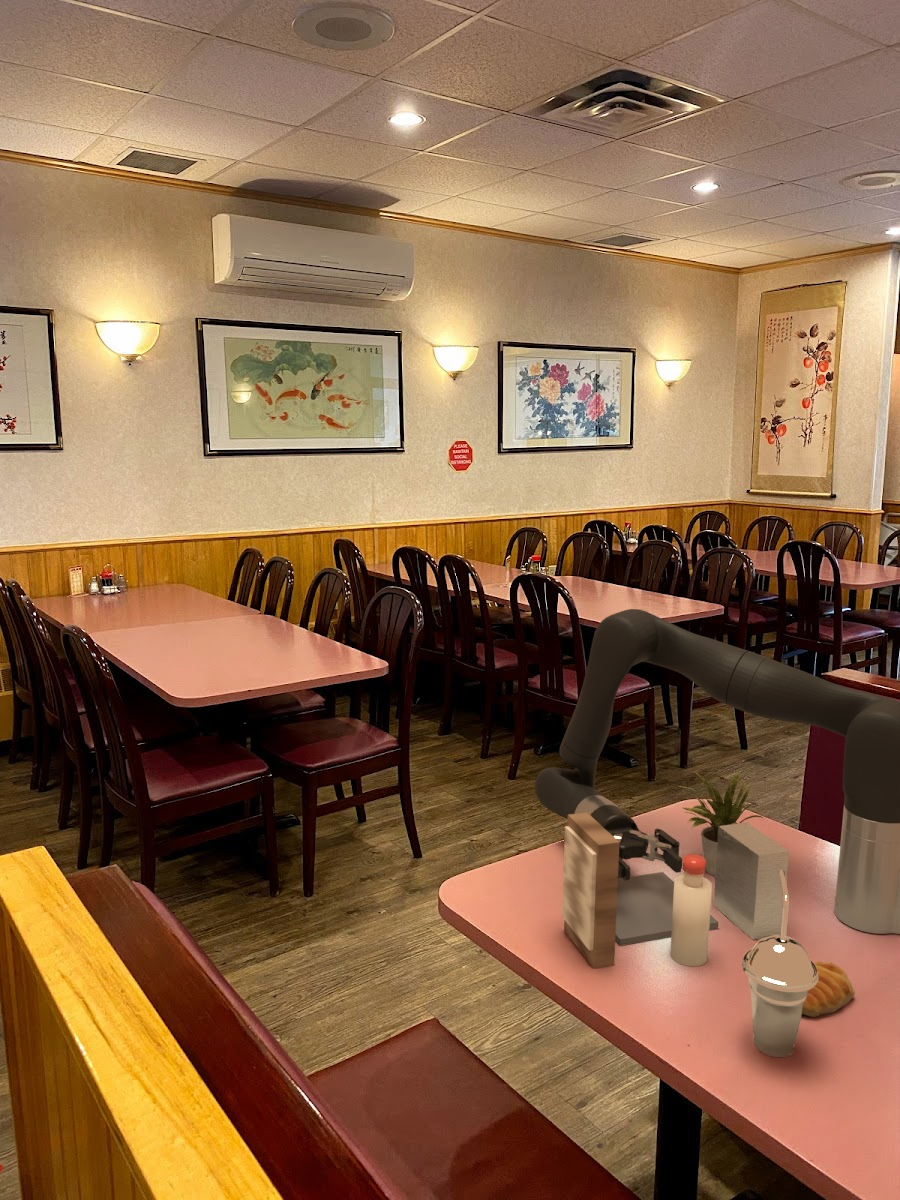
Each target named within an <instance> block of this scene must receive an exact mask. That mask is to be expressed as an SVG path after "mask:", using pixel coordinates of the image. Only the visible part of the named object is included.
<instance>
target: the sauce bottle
mask: <svg viewBox="0 0 900 1200" xmlns="http://www.w3.org/2000/svg"><path fill="white" fill-rule="evenodd" d="M705 867H706V859H705V858H704V857H703V856H702V855H699V854H693V853H690V854H686V855H683V857H682V870H683V874H680V875H677V876H676V877H675V878H674V880H673V881H674V896H673V914H672V932H671V937H670V951H669V953H670V955H669V956H670V957H671V958H672V960H673V961H674V962H675V963H677V964H680V965H683V966H686V967H694V968H695V967H700V966H703V965H705V964H706V963H707V962H708V955H709V942H710V941H709V940H710V939H709V938H710V930H709V925H710V915H711V907H712V892H713V891H712V890H713V883H712V882H711V881H710V879H707V878H706V877H704V874H705V872H706V870H705Z"/></svg>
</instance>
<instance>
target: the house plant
mask: <svg viewBox="0 0 900 1200" xmlns="http://www.w3.org/2000/svg"><path fill="white" fill-rule="evenodd" d="M693 773H694V774H696V775H697V776H698V777H699V778H700V779H701V780H702V781H703V783H704V784H705V785H704V786H705V787H706V789H707V792H708V794H709V797H710V798H711V800H710V799H708V798H707V797H706V796H705V795H704V794H703V793H702V792H700V791H699V790H697V789H695V788H692V787H688V786H682V785H679V786H678V787H680V788H685V789H687V790H688V789H689V790H691V793H692V794H694V792H696V793H698V794H697V796H698V797H699V798H698V797H697V796H695V795H694V797H695V799H697V801H698V802H699V804H700V805H695V806H693V807H682V809H683V810H685V811H684V813H687V814H692V815H694V817H691V818H690V819H689V820H688V821H687V822H686V823H687V824H688V823H690V822H694V823H693V824H692V826H691V828H690V829H693V828H694V827H698V826H700V825H704V824H705V825H706V826H707V827H705V828H703V829H702V830H701V832H700V837H701V845H702V846H701V847H702V854H703V856H702V857H704V858H705V859H706V867H705V872H706V873H708V874H709V875H712V876H714V877H715V873H716V857H717V842H718V826H724V825H731V824H738V822H737V821H738V820H739V818H740V816H741V815H742V814H744V813H743V812H745V811H746V809H748V808H749V807H751V806H752V804H754V803H755V802H757V801H759V800H760V798H758V799H756V800H754V801H752V802H751V803H750V804H749V805H748V804H745V805H744V803H745V802H746V799H747V798H748V796H749V792H750V790H751V787H752V786H751V785H750V786H749V787H748V788H747V790H746V789H745V787H746V785H747V783H746V782H747V780H745V781H744V783H743V785H742V786H741V788H740V791H739V792H738V795H737V797H736V799H735V802H734V800H733V799H734V796H735V792H736V788H737V785H738V783H739V781H741V780H742V778H741V777H740V778H739V776H740V774H741V772H740V770H739V771H737V772H736V773H735V774H734V775H733V777H732V779H731V780H730V781H731V782H730V783H729V786H728V787H727V789H726V791H725V794H724V799H723V798H722V796H721V794H720V792H719V791H718V789H716V787H715V786H714V785H713V783H711V782H710V781H709V780H707V779H706V778H705V777H704V776H702V775H701V774H699V773H698V772H695V771H693ZM687 790H686V791H685V792H687V793H690V791H689V790H688V791H687ZM745 790H746V791H745ZM692 791H694V792H692ZM744 791H745V793H744ZM699 794H700V795H701V796H702V797H704V798H702V797H701V796H700V795H699ZM705 800H706V802H707V803H708V804H709V806H710V807H711V808H712V811H713V813H712V811H711V810H710V809H709V806H708V804H707V803H706V802H705ZM733 802H734V804H733ZM745 806H746V807H745ZM686 811H687V812H686ZM696 814H697V815H696ZM699 816H700V817H699ZM752 818H761V819H764V817H763V816H761V815H758V814H756V815H751V816H747V817H745V818H743V819H742V820H741V821H739V823H744V821H746V820H748V819H752ZM707 824H709V825H710V826H709V825H707Z"/></svg>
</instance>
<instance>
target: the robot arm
mask: <svg viewBox="0 0 900 1200" xmlns="http://www.w3.org/2000/svg"><path fill="white" fill-rule="evenodd" d="M640 663H648V664H651V665H656V666H659V667H662V668H666V669H669V670H672V671H675V672H677V673H678V674H681V675H683V676H684V677H686V678H687V679H688V680H690V681H691V682H693V683H694V684H695V685H696V686H697V687H698V688H700V689H701V690H702V691H703V692H705V693H706V694H707V695H709V696H710V697H711V698H713V699H715V700H716V701H718V702H721V703H722V704H725V705H727V706H729V707H731V708H735V709H737V710H739V711H742V712H744V713H748V714H750V715H753V716H757V717H760V718H764V719H768V720H769V719H770V720H775V721H781V722H789V723H797V724H802V725H810V726H815V727H818V728H822V729H824V730H828V731H830V732H832V733H835V734H837V735H840V736H843V737H845V740H844V741H845V743H844V753H843V768H842V769H843V770H842V790H843V793H844V802H843V812H842V813H843V814H842V823H841V824H842V825H841V833H840V834H841V835H840V846H839V857H838V865H837V866H838V867H837V876H836V888H835V889H836V890H835V896H834V897H835V898H834V915H835V916H836V918H837V919H838V920H839V921H840V922H842V923H843V924H845V925H846V926H848V927H850V928H853V929H856V930H858V931H861V932H866V933H870V934H877V935H878V934H881V935H883V934H884V935H886V934H897V935H900V700H897V699H894V698H890V697H887V696H882V695H878V694H875V693H872V692H871V693H870V692H867V691H863V690H860V689H855V688H851V687H847V686H844V685H840V684H838V683H837V684H836V683H834V682H830V681H828V680H825V679H824V678H821V677H818V676H816V675H814V674H811V673H808V672H806V671H804V670H802V669H798V668H795V667H794V666H790V665H789V664H785V663H782V662H780V661H777V660H775V659H772V658H770V657H768V656H764V655H761V654H758V653H756V652H753V651H750V650H747V649H743V648H740V647H738V646H734V645H731V644H728V643H725V642H723V641H719V640H717V639H714V638H710V637H707V636H702V635H699V634H696V633H694V632H691V631H690V630H689V631H688V630H686V629H684V628H681V627H680V626H678V625H675V624H673V623H672V622H669V621H668V620H665V619H663V618H661V617H659V616H657V615H654V613H650V612H648V611H646V610H644V609H640V608H639V609H638V608H630V609H625V610H622V611H619V612H616V613H613V614H610V615H607V616H606V617H605V618H604V619H602V621H600V622H599V623H598V625H597V627H596V629H595V632H594V634H593V639H592V642H591V647H590V652H589V658H588V663H587V667H586V670H585V671H586V672H585V676H584V679H583V684H582V686H581V690H580V693H579V696H578V700H577V702H576V706H575V708H574V710H573V714H572V716H571V719H570V721H569V724H568V726H567V728H566V731H565V733H564V735H563V738H562V741H561V744H560V747H559V756H560V758H561V759H562V760H563V762H565V763H566V764H567V765H569V766H571V767H572V768H573V767H574V769H572V768H563V767H556V766H555V767H554V766H553V767H552V766H551V767H546V768H544V769H542V770H540V771H539V773H538V774H537V776H536V778H535V781H534V792H535V796H536V798H537V800H538V802H539V803H540V804H541V805H542V806H543V807H544V808H545V809H547V810H548V811H551V812H553V813H555V815H557V816H560V817H561V818H562V817H563V818H564V819H566V820H568V815H569V814H577V813H585V812H587V813H588V814H589V815H590V816H592V817H593V818H594V819H595V820H596V821H597V822H598V823H599V824H600V825H601V826H602V827H603V828H605V829H606V830H607V831H608V832H609V833H610V834H611V835H612V836H613V837H614V838H615V839H616V840H618V841H619V865H618V878H619V879H620V878H622V879H623V880H629V879H630V877H631V867H630V865H629V864H628V863H627V862H625V861H627V860H632V859H643V860H646V861H647V860H648V861H651V862H654V861H657V860H658V861H661V862H663V863H664V864H665V865H666V866H667V867H669V869H671V870H672V871H673V872H674V873H675V874H676V873H681V872H682V870H683V857H681V856H680V842H679V841H677V839H675V838H674V837H672V836H671V835H670V834H669V833H667V832H666V831H664V830H663V829H661V828H655V829H654V833H651V834H647V833H646V832H643V831H641V830H640V829H639V828H638V825H637V823H636V822H635V820H634V819H633V818H632V817H631V816H630V815H628V814H627V813H626V812H625V811H624V810H622V809H621V808H620V807H619V806H618V805H617V804H615V803H614V802H613V801H611V800H610V799H608V798H606V797H605V796H604V795H603V794H601V793H600V792H599V791H597V790H596V789H595V785H596V784H595V782H596V774H597V773H596V772H597V766H598V760H599V757H600V755H601V752H602V751H603V749H604V746H605V744H606V741H607V738H608V736H609V734H610V730H611V727H612V720H613V711H614V704H615V699H616V696H617V693H618V690H619V688H620V686H621V684H622V683H623V681H624V679H625V678H626V676H627V674H628V673H629V671H630V670H631V668H632V667H634V666H635V665H638V664H640ZM649 846H650V847H649ZM648 848H649V849H650V850H649V853H648V852H647V851H648ZM658 849H659V850H661V851H662V854H661V853H660V852H659V851H658ZM624 860H625V861H624Z"/></svg>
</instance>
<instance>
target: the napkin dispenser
mask: <svg viewBox="0 0 900 1200" xmlns="http://www.w3.org/2000/svg"><path fill="white" fill-rule="evenodd" d="M789 853H790V851H789V849H787V848H786V847H784V846H782V845H781V844H779V843H778V842H777V841H775V840H773V839H772V838H771V837H770V836H768V835H766V834H765V833H763V832H762V831H760V830H759V829H758V828H756V827H755V826H754V825H752V824H750V823H748V822H747V821H746V822H742V823H740V822H739V823H738V822H737V824H731V825H724V826H718V842H717V857H716V873H715V876H714V877H715V878H714V889H713V890H714V891H713V892H714V893H713V906H714V907H715V908H716V909H717V910H718V911H720V913H722V914H723V915H724V916H725V917H726V918H728V919H729V921H730V922H732V923H733V924H734V925H735V926H736V927H738V928H739V929H740V931H742V932H743V933H745V935H747V936H748V937H749V938H750V939H751V940H759V939H760V938H762V937H764V936H767V935H771V934H780V931H781V918H782V906H783V895H782V889H781V883H780V877H779V871H780V870H783V871H785V877H786V882H787V880H788V879H787V878H788V868H789Z"/></svg>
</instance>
